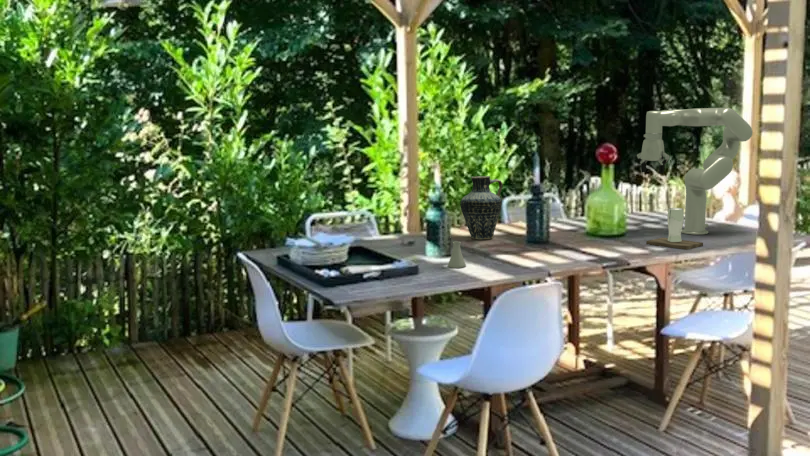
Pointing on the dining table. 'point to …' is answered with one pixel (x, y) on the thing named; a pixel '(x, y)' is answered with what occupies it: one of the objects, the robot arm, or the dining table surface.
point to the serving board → (681, 245)
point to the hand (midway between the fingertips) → (652, 172)
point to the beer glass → (675, 224)
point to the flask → (456, 257)
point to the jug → (482, 208)
